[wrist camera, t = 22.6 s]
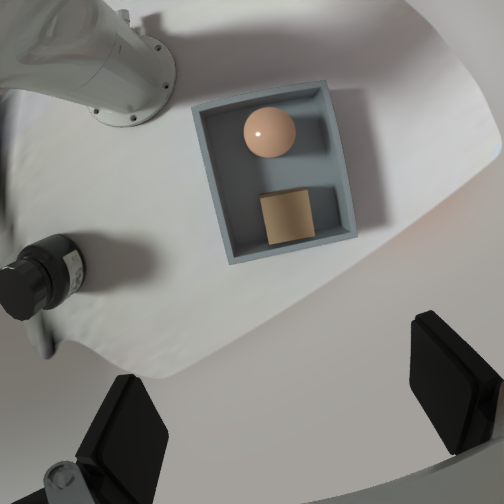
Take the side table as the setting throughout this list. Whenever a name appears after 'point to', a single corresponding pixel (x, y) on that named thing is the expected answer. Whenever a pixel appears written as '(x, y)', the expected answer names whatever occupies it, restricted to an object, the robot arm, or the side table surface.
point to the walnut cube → (287, 215)
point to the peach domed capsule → (269, 132)
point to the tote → (275, 169)
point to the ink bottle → (41, 277)
